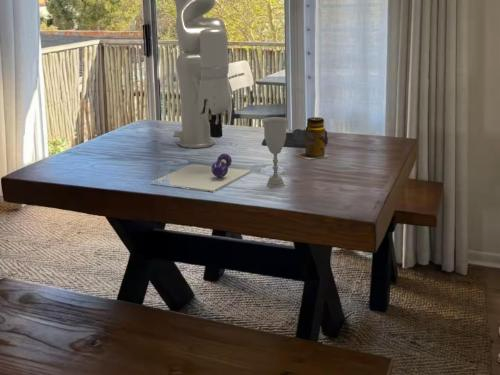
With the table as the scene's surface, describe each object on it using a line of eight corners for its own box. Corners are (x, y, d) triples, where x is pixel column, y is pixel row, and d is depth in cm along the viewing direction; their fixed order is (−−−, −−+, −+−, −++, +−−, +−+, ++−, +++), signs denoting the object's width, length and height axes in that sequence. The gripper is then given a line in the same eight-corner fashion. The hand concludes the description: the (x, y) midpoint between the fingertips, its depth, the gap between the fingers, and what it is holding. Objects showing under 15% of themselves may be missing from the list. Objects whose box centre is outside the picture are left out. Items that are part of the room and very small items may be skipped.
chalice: (261, 181, 186) (260, 117, 181) (286, 180, 186) (286, 116, 181) (264, 189, 179) (263, 122, 174) (289, 188, 180) (289, 121, 174)
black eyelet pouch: (271, 137, 243) (270, 125, 242) (331, 140, 237) (331, 127, 235) (258, 147, 229) (258, 133, 228) (321, 150, 223) (322, 136, 221)
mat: (150, 184, 185) (150, 182, 185) (192, 165, 204) (191, 163, 204) (213, 192, 177) (213, 190, 177) (250, 172, 196) (250, 170, 195)
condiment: (330, 156, 213) (330, 118, 210) (309, 160, 209) (309, 122, 205) (315, 152, 219) (316, 115, 216) (295, 155, 215) (295, 118, 211)
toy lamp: (233, 154, 200) (226, 163, 184) (232, 169, 201) (225, 180, 185) (217, 153, 201) (209, 162, 185) (217, 168, 202) (208, 179, 186)
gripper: (215, 70, 198) (217, 131, 203) (189, 76, 185) (191, 141, 190) (238, 71, 195) (239, 133, 200) (212, 77, 182) (215, 143, 187)
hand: (216, 136), depth 195 cm, fingers closed
